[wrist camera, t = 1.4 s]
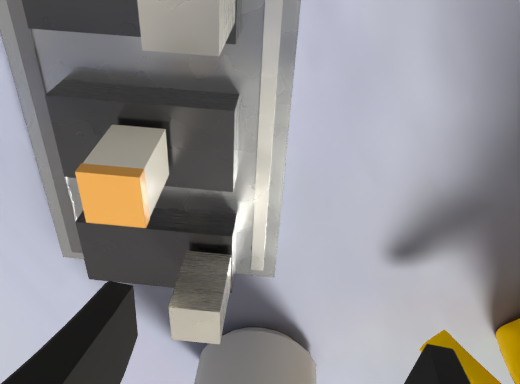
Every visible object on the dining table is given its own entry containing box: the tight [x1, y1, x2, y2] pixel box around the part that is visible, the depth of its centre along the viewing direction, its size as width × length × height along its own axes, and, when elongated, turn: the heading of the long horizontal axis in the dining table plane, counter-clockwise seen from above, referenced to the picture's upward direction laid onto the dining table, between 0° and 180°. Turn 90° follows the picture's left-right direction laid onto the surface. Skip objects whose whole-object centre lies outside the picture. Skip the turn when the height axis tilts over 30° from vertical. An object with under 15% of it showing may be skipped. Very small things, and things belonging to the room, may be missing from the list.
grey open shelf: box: [0, 0, 301, 344], centre depth 17 cm, size 11×16×6 cm
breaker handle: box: [75, 125, 169, 228], centre depth 16 cm, size 2×2×3 cm
